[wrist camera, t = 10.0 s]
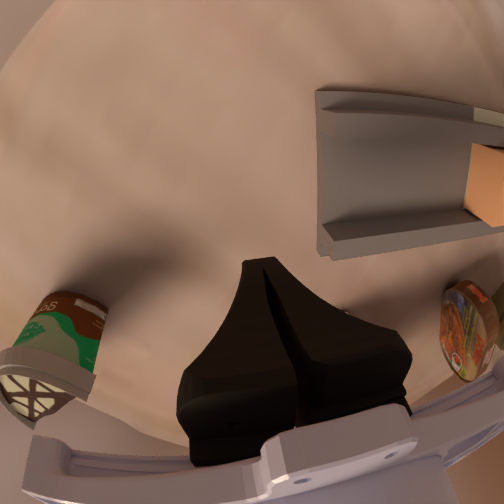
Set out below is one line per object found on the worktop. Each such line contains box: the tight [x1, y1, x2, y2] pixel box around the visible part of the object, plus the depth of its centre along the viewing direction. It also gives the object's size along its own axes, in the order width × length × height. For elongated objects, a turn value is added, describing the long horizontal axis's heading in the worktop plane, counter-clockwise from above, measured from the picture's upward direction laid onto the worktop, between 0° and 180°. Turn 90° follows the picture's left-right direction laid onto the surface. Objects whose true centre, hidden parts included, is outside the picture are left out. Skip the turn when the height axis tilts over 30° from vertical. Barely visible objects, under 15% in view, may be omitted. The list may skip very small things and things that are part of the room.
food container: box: [0, 291, 108, 430], centre depth 19 cm, size 12×6×10 cm, turn 127°
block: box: [464, 143, 504, 227], centre depth 19 cm, size 6×6×4 cm
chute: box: [315, 91, 504, 261], centre depth 20 cm, size 12×22×4 cm, turn 95°
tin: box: [440, 280, 500, 383], centre depth 27 cm, size 15×3×8 cm, turn 23°
